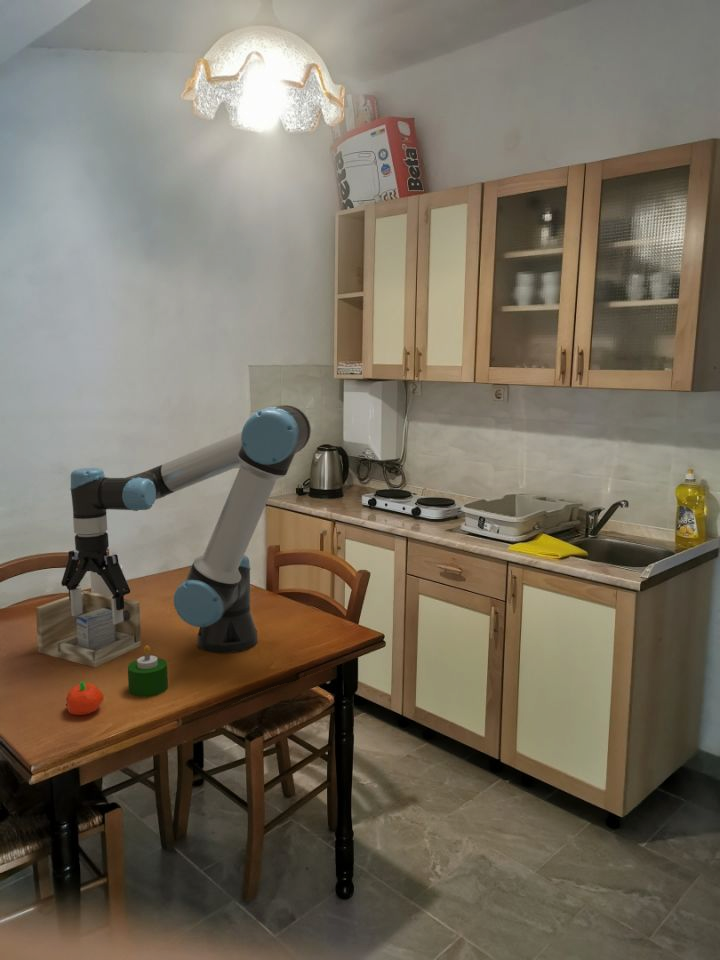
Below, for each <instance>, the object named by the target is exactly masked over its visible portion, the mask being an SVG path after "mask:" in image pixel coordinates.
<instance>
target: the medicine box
mask: <svg viewBox="0 0 720 960" xmlns="http://www.w3.org/2000/svg"><path fill="white" fill-rule="evenodd" d="M76 620H77V639H78V646H79V647H83V648H87V649H90V650H94V651H96V650H99V649H101V648H103V647H105V646H107V645H110V644H112V643H114V642H116V638H115V624H113V618H112V611H111V610H108V609H105V608H102V609H99V610H95V611H92V612H89V613H86V614H83V615H80V616H77V617H76Z"/></svg>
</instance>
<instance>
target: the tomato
mask: <svg viewBox="0 0 720 960" xmlns="http://www.w3.org/2000/svg"><path fill="white" fill-rule="evenodd" d="M103 701H104V694H103V692H102V690H100V689H99V688H98V687H97V686H96V685H94V684H92V683H84V681H82V680H81V681H80V683H79V685H75V686H74V687H72V688H70V689H69V690H68V692H67V695H66V703H65V707H66V708H67V711H68V712H69V714H71V715H74V716H83V715H88V714H92V713H94V712H95V711H97V709H98V708H99V707H100V705H102V703H103Z"/></svg>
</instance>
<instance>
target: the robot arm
mask: <svg viewBox="0 0 720 960" xmlns="http://www.w3.org/2000/svg"><path fill="white" fill-rule="evenodd" d="M311 428H312V427H311V424H310V420H309V418H308V417H307V414H305V413H304V412H303V411H302V410H301V409H299V408H298V407H296V406H292V405H278V406H276V407H275V406H274V407H273V406H272V407H265V408H262V409H260V410H258V411H256V412H255V413H253V414H252V415H251V416H249V417H248V419H247V420H246V422H245V423H244V425H243V427H242V430H241V431H240V432H237V433H236V434H232V435H231V436H228V437H226V438H223V439H221V440H218V441H216V442H213V443H211V444H209V445H206V446H204V447H201V448H199V449H197V450H194V451H192V452H189V453H187V454H183V455H182V456H180V457H177V458H175V459H172V460H169V461H168V462H164V463H162V464H160V465H158V466H156V467H153V468H151V469H148V470H146V471H143V472H140V473H136V474H133V475H129V476H127V477H107V476H106V475H105V473H104V470H103V469H102V468H100V467H99V468H98V467H85V468H78V469H74V470H73V471H71V472H70V473H71V474H70V488H69V489H70V494H71V504H72V514H73V515H72V520H73V521H72V522H73V533H74V534H75V536H74V545H75V549H73V550H70V551H68V559H67V564H66V567H65V569H64V573H63V576H62V579H61V586H62V587H66V589H67V590H68V596H69V600H70V601H71V611H72V616H76V615H79V614H81V613H83V611H82V598H81V592H82V587H80V586H81V585H80V584H81V582H82V580H83V579H84V577H85V575H86V574H87V572H90V571H92V572H95V573H97V574H98V575H100V576H101V577H102V579H103V580H104V582H105V583H106V585H107V586H108V588H109V590H110V591H111V593H112V594H113V597H111V604H112V618H113V624H117V623H120V622H122V621H124V619H123V609H124V599H125V598H124V597H125V596H126V595H128V594H129V595H130V593H131V589H130V586H129V584H128V582H127V580H126V577H125V575H124V573H123V572H122V570H121V568H120V565H121V564H120V563H119V557H118V554H116V553H115V554H112V555H108V553H107V551H108V550H107V549H108V548H109V546H110V543H109V534H108V533H107V531H108V518H107V517H108V516H107V510H116V511H119V510H120V511H133V512H138V511H146V510H150V509H151V508H152V507H153V504H155V502H156V500H159V499H162V498H164V497H166V496H169V495H171V494H173V493H176V492H178V491H181V490H183V489H185V488H187V487H188V488H189V487H191V486H193V485H196V484H197V483H200V482H204V481H206V480H209V479H210V478H214V477H216V476H219V475H220V474H223V473H225V472H228V471H231V470H233V469H235V468H239V469H238V472H237V474H236V477H235V479H234V481H233V483H232V486H231V488H230V491H229V492H228V495H227V498H226V500H225V503H224V505H223V507H222V510H221V512H220V514H219V517H218V519H217V522H216V524H215V527H214V529H213V532H212V534H211V536H210V537H209V538H210V539H209V541H208V544H207V545H206V548H205V551H204V553H203V555H200V556H198V557H196V558H195V559H194V560H193V562H192V565H191V567H190V569H189V572H188V574H187V576H186V579H185V581H182V582H181V583H180V584H179V586H178V587H177V588H176V590H175V593H174V594H173V606H174V609H175V610H176V612H177V615H178V617H180V619H181V620H183V622H185V623H186V624H188V625H190V626H192V627H196V628H199V629H198V630H199V631H198V633H197V640H196V641H197V646H198V647H199V649H202V650H203V651H206V652H209V653H210V652H211V653H217V654H223V653H224V654H229V653H230V654H232V653H237V652H242V651H247V650H248V649H250V648H253V647H254V646H255V645H256V644H258V630H257V628H256V625H255V623H254V619H253V616H252V613H251V567H250V566H251V565H250V558H249V557H248V556H247V555H245V554H246V551H247V549H248V547H249V544H250V542H251V540H252V538H253V535H254V533H255V531H256V528H257V526H258V524H259V521H260V519H261V517H262V514H263V512H264V510H265V507H266V505H267V504H268V500H269V497H270V495H271V493H272V491H273V489H274V486H275V484H276V482H277V480H279V479H280V478H283V477H286V476H287V473H288V471H289V469H290V467H291V465H292V462H293V460H294V457H295V456H296V454H297V453H298V452H301V451H302V450H303V449H304V448H305V447H306V446H307V444H308V442H309V441H310V438H311V431H312V429H311ZM119 564H120V565H119ZM103 568H105V569H103ZM117 591H118V592H117Z"/></svg>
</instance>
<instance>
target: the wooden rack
mask: <svg viewBox="0 0 720 960" xmlns="http://www.w3.org/2000/svg"><path fill="white" fill-rule="evenodd" d="M111 597H112V596H107V595H102V594H98V593H93V592H91V591H88V590H83V591H82V590H81V598H82V611H83V613H81V614H79V615H76V616H72V611H71V601H70V600H69V595H68V596H65V597H62V598H60V599H56V600H53V601H50V602H48V603H47V602H46V603H44V604H42V605H39V606H36V607H35V617H36V618H35V619H36V631H37V633H36V634H37V649H38V651H37V652H38V653H40V654H43V655H46V656H51V657H53V658H58V659H62V660H64V661H65V660H66V661H70V662H73V663H77V664H81V665H84V666H89V667H90V668H91V667H92V668H98V667H100V666H102V665H103V664H106V663H108V662H110V661H112V660H114V659H117V658H119V657H121V656H123V655H125V654H127V653H130V652H131V651H134V650H135V649H137V648H139V647H141V646H142V639H141V638H142V637H141V635H142V634H141V613H140V611H141V609H140V601H136V600H131V599H126V598H124V609H123V619H124V621H122V622H120V623H117V624H115V638H116V642H114V643H112V644H110V645H107V646H105V647H103V648H101V649H99V650H96V651H94V650H90V649H87V648H83V647H79V646H78V639H77V620H76V617H77V616H80V615H83V614H86V613H89V612H92V611H95V610H99V609H102V608H105V609H108V610H111V611H112V604H111Z"/></svg>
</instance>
